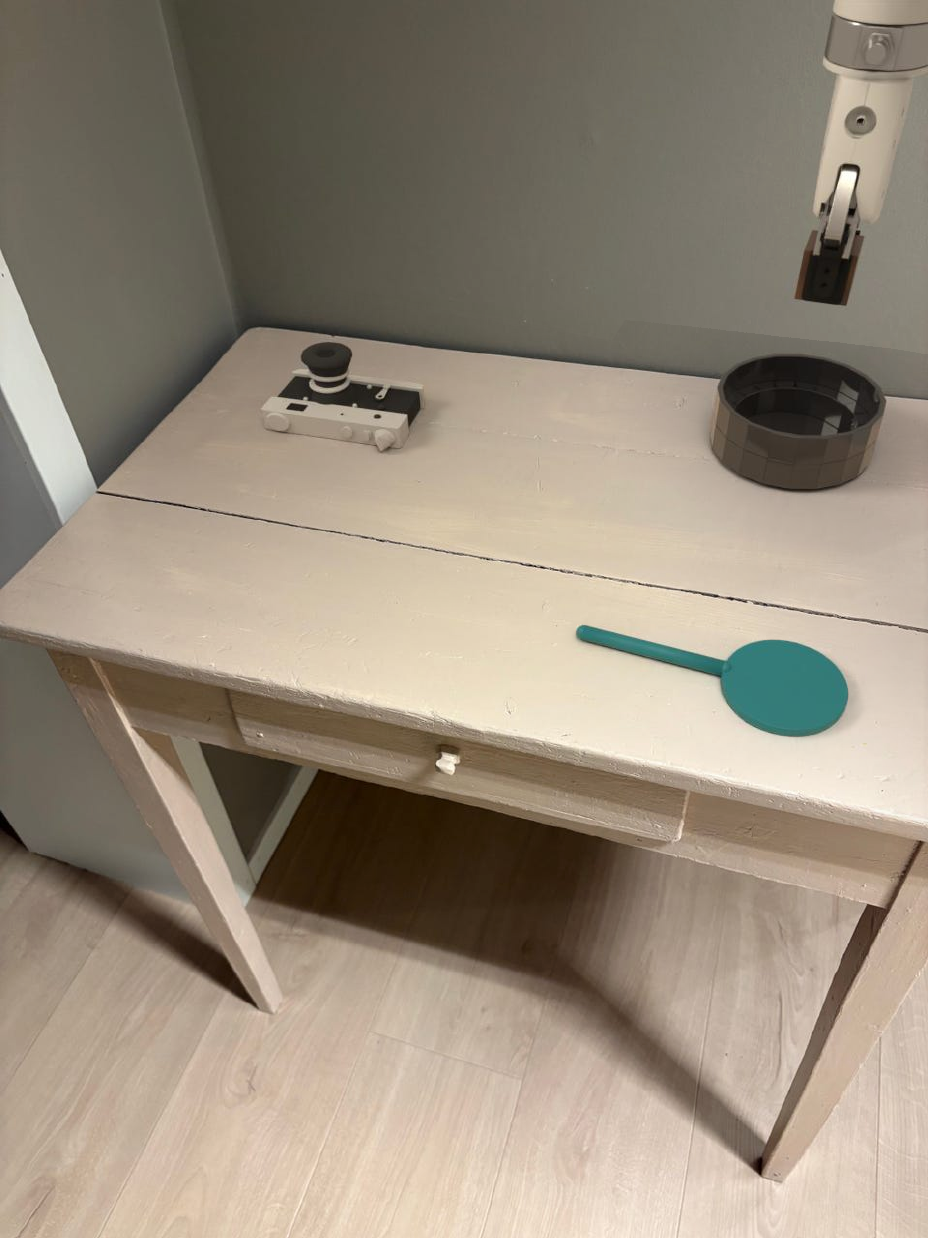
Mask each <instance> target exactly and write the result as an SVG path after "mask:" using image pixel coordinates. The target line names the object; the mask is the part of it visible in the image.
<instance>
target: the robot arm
mask: <svg viewBox="0 0 928 1238" xmlns="http://www.w3.org/2000/svg"><path fill="white" fill-rule="evenodd" d="M822 66H823V67H824V68H825V69H826V70H827V71H830V72H831V73H834V74H836V78H835V82H834V87H833V91H832V92H833V93H832V97H831V101H830V102H831V103H830V107H829V113H828V118H827V122H826V127H825V132H824V137H823V143H822V147H821V154H820V159H819V166H818V171H817V179H816V187H815V193H814V200H813V205H812V206H813V207H812V213H813V215H814V216H815V217H816V218H817V219H820V221H819V225H818V229H817V231H818V234H817V238H816V242H815V247H814V251H813V250H812V251H811V254H810V258H809V263H808V268H807V272H806V277H805V282H804V286H803V291H802V296H801V297H802V299H803V300H802V301H804V302H811V303H816V304H817V303H818V304H825V305H833V306H840V305H839V304H840V303H841V302H842V299H843V295H844V291H845V287H846V283H847V278H848V274H849V270H850V266H851V262H852V258H853V255H850V252H851V248H852V244H853V240H854V236H855V235H861V232H862V231H861V230H859V227H860V223H861V221H865V222H867V221H868V223H867V224H868V225H873V224H874V223H876V222H877V221H878V220H879V218H880V216H881V212H882V210H883V205H884V203H885V198H886V195H887V191H888V189H889V185H890V181H891V176H892V174H893V169H894V164H895V161H896V157H897V154H898V151H899V146H900V142H901V137H902V135H903V134H902V133H903V130H904V127H905V124H906V123H905V122H906V120H907V119H906V118H907V114H908V109H909V105H910V100H911V97H912V91H913V86H914V81H915V78H919V77H922V76H924V75H926V74H928V0H834V2H833V6H832V11H831V17H830V22H829V28H828V33H827V38H826V43H825V47H824V54H823V58H822ZM844 246H845V247H844Z"/></svg>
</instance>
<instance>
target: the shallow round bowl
mask: <svg viewBox="0 0 928 1238" xmlns="http://www.w3.org/2000/svg"><path fill="white" fill-rule="evenodd" d="M714 400H715V401H714V407H713V412H712V413H713V414H712V419H711V426H710V432H709V439H710V443H711V449H712V450H713V452H714V453H715V454H716V456H717V457H718V459H720V461H721V462H722V463H723V464H724V465H725V466H727V467H728V468H730V469H731V470H732V471H734V472H736V473H737V474H739V475H740V476H742V477H746V478H748V479H751V480H753V481H756V482H758V483H761V484H763V485H768V486H773V487H779V488H784V489H791V490H792V489H797V490H799V489H801V490H818V489H823V488H827V487H828V488H829V487H833V486H838V485H841V484H844V483H845V482H848V481H850V480H852V479H854V478H856V477H858V476H859V475H860V474H861V473H862V472H863V471H864V470H865V469H866V468H867V466H868V465H869V464H870V462H871V459H872V455H873V451H874V448H875V445H876V441H877V438H878V435H879V432H880V428H881V425H882V421H883V417H884V415H885V410H886V405H887V399H886V397H885V394H884V392H883V390H882V387H881V386H880V385H879V384H877V382H876V381H874V380H873V378H871V377H870V376H869V375H868V374H866V373H865V372H863V371H861V370H859V369H857V368H855V367H853V366H851V365H850V364H848V363H844V362H840V361H837V360H834V359H832V358H829V357H824V356H818V355H811V354H804V353H771V354H766V355H759V356H754V357H751V358H748V359H746V360H742V361H740V362H737V363H736V364H734V365H733V366H731V367H730V368H728V370H727V371H725V372H724V373H723V374H722V376H721V377H720V380H719V382H718V385H717V388H716V392H715V399H714Z"/></svg>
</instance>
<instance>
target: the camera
mask: <svg viewBox="0 0 928 1238" xmlns="http://www.w3.org/2000/svg"><path fill="white" fill-rule="evenodd" d="M352 358H353V351H352V349H351V348H350V347H349V346H347V344H344V343H340V342H333V341H323V342H318V343H313V344H312V345H310V346H308V347H306V348H304V350H302V352H301V354H300V361H301V362H302V363H303V364H304V365H305V366H306V367H307V368H308V369H306V368H299V369H296V370H293V371H292V372H291V377H292V379H291V380H290V381H289V382H288V383H287V384H286V385H285V387H284V388H283V389H282V391H281V392H280V393H278V395H277V396H273V395H272V396H271V397H269V399H268V400H267V401H266V402H265V403H264V404H263V406H261V408H260V411H261V415H262V421H263V424H264V428H265V429H266V430H269V431H274V432H275V431H276V432H280V433H281V432H283V433H288V434H296V435H302V436H309V437H316V438H324V439H329V440H335V441H343V442H344V441H345V442H350V443H351V442H352V443H357V444H358V443H359V444H365V445H372V446H377V448H378V450H379V451H380V452H382V451H384V450H386V449H387V448H392V449H401V448H402V447H403V445H404V444H405V443H406V441H407V439H408V438H409V436H410V429H409V426H410V425H411V423H412V422H413V420H414V418H415V417H416V415H418V412H419V411H420V410H424V409H425V408H426V403H425V402H426V401H425V389H424V385H423V384H422V383H417V382H409V381H403V380H402V381H401V380H393V379H388V378H387V379H386V378H377V377H370V376H364V375H363V376H362V375H354V374H350V371H349V370H350V369H349V366H350V364H351V360H352Z"/></svg>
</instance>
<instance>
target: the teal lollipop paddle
mask: <svg viewBox="0 0 928 1238" xmlns="http://www.w3.org/2000/svg"><path fill="white" fill-rule="evenodd" d="M575 633H576V636H577V638H578V639H579V640H581V641H584V642H589V643H593V644H597V645H600V646H604V647H608V648H613V649H616V650H620V651H624V652H628V653H631V654H635V655H639V656H642V657H647V658H650V659H654V660H658V661H661V662H666V663H670V664H673V665H677V666H681V667H685V668H688V669H692V670H696V671H700V672H704V673H708V674H712V675H715V676H719V677H720V687H721V692H722V695H723V698H724V700H725V701H726V703H727V705H728V706H729V708H730V709H731V710H732V711H733V712H734V713H735V714H736V715H737V716H738V717H739V718H741V720H743V721H745V722H746V723H747V724H749V725H751V726H753V727H755V728H757V729H759V730H761V731H764V732H767V733H770V734H774V735H778V736H784V737H785V736H786V737H806V736H812V735H816V734H819V733H822V732H824V731H826V730H828V729H829V728H831V727H832V726H834V725H835V724H836V723H837V722H838V721H839V720H840V719H841V718H842V716H843V714H844V712H845V710H846V707H847V704H848V701H849V686H848V683H847V681H846V677H844V674H843V672H842V671H841V670H840V668H839V667H838V666H837V665H836V664H835V663H834V662H833V661H832V660H831V659H830V658H829V657H828V656H826V655H825V654H824V653H821V652H820V651H818V650H816V649H815V648H812V647H810V646H807V645H805V644H803V643H798V642H795V641H791V640H786V639H785V640H784V639H762V640H757V641H753V642H749V643H747V644H744V645H742V646H741V647H739V648H737V649H736V650H735V651H733V652H732V653H731V655H729V656H728V658H727V659H726V660H724V659H720V658H717V657H712V656H709V655H708V656H707V655H705V654H701V653H697V652H693V651H690V650H689V651H688V650H685V649H681V648H676V647H673V646H670V645H665V644H661V643H658V642H654V641H650V640H646V639H643V638H637V637H633V636H630V635H626V634H622V633H618V632H616V631H615V632H614V631H611V630H607V629H602V628H599V627H595V626H592V625H587V624H581V625H579V626H578V627H577V628H576V630H575Z"/></svg>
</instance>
